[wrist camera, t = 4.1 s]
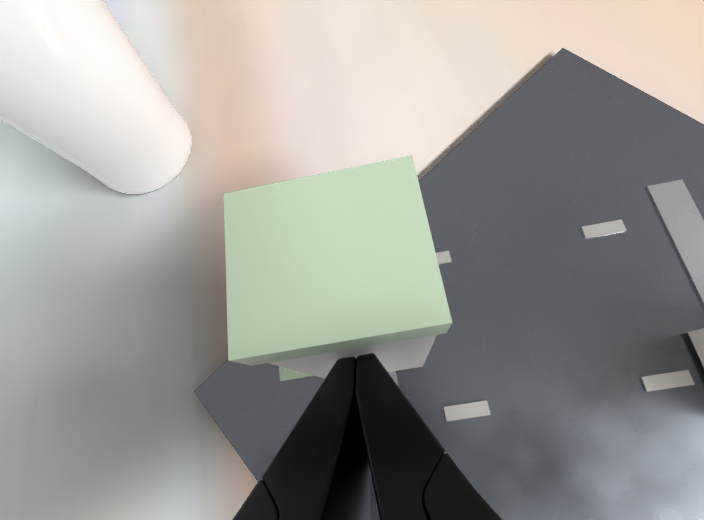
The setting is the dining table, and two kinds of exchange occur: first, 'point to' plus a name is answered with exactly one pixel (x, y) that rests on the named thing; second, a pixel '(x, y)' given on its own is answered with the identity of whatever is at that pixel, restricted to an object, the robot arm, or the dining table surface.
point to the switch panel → (549, 310)
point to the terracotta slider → (698, 342)
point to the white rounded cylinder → (88, 94)
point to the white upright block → (333, 270)
